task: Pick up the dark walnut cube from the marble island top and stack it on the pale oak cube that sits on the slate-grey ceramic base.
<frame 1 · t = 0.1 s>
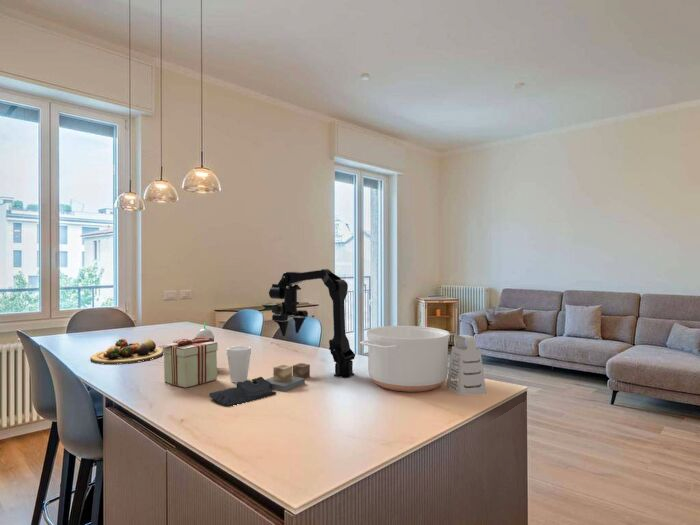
hand: (290, 334, 194), 15 cm above the worktop, tool pointing down, fingers open, 9 cm apart
grater: (465, 390, 160), on the worktop
pot: (407, 384, 169), on the worktop
wooden plate with food: (128, 358, 214), on the worktop
base: (282, 385, 166), on the worktop
walnut block: (301, 377, 177), on the worktop
foam cup: (238, 381, 172), on the worktop
gift box: (187, 381, 171), on the worktop
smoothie: (204, 367, 193), on the worktop
oak block: (282, 379, 166), point 2 cm above the worktop, touching base
dark slate chunk: (242, 397, 153), on the worktop
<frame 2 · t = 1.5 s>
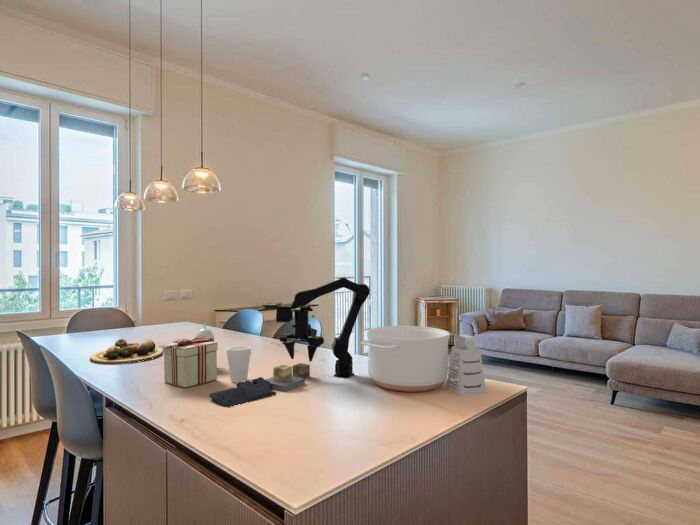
hand: (301, 360, 177), 7 cm above the worktop, tool pointing down, fingers open, 9 cm apart
nothing on the worktop moved.
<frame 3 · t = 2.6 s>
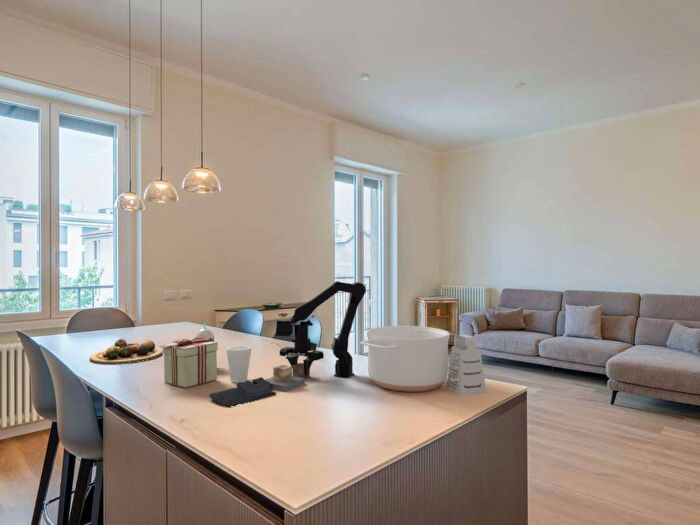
hand: (301, 374, 177), 1 cm above the worktop, tool pointing down, fingers closed on walnut block, 5 cm apart
walnut block: (301, 377, 177), on the worktop, touching gripper
everything else where it was.
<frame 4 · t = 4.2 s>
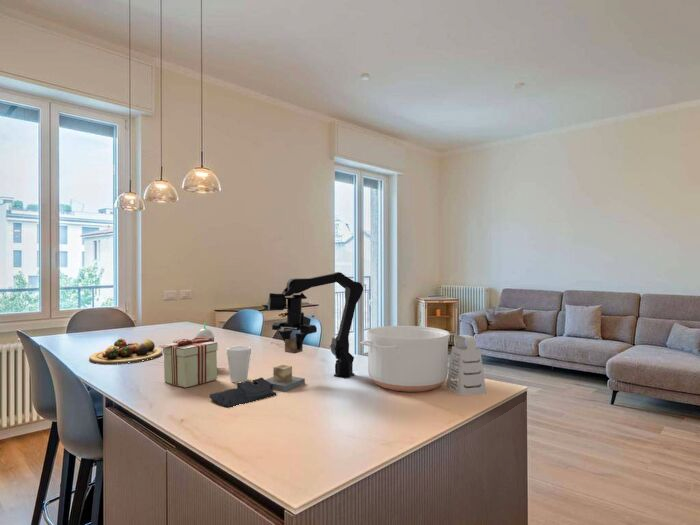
hand: (293, 349, 173), 12 cm above the worktop, tool pointing down, fingers closed on walnut block, 5 cm apart
walnut block: (293, 351, 173), point 11 cm above the worktop, touching gripper
everything else where it was.
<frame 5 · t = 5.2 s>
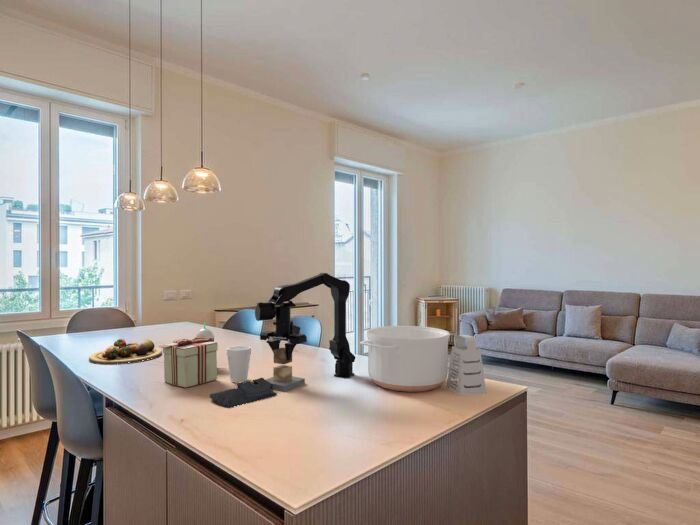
hand: (283, 359, 166), 10 cm above the worktop, tool pointing down, fingers closed on walnut block, 5 cm apart
walnut block: (282, 362, 166), point 9 cm above the worktop, touching gripper
when the fingers open (8 cm above the worktop, at t = 5.8 s): walnut block stays where it is, resting on oak block.
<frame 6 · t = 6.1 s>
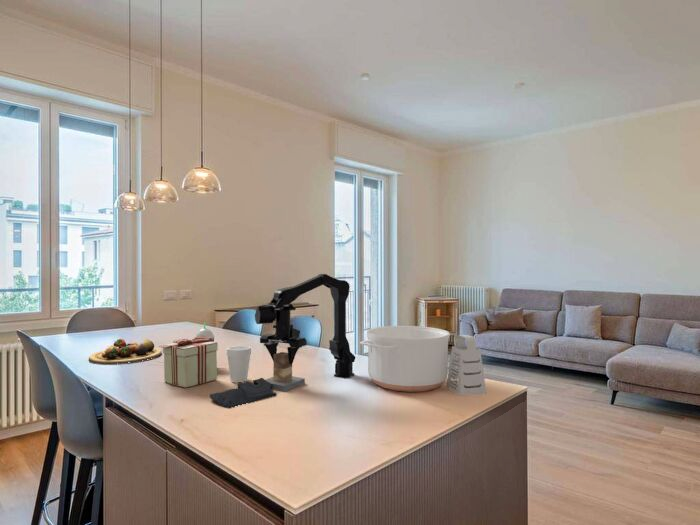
hand: (282, 362, 166), 8 cm above the worktop, tool pointing down, fingers open, 8 cm apart
walnut block: (282, 366, 166), point 7 cm above the worktop, touching oak block
oak block: (282, 379, 166), point 2 cm above the worktop, touching base, walnut block
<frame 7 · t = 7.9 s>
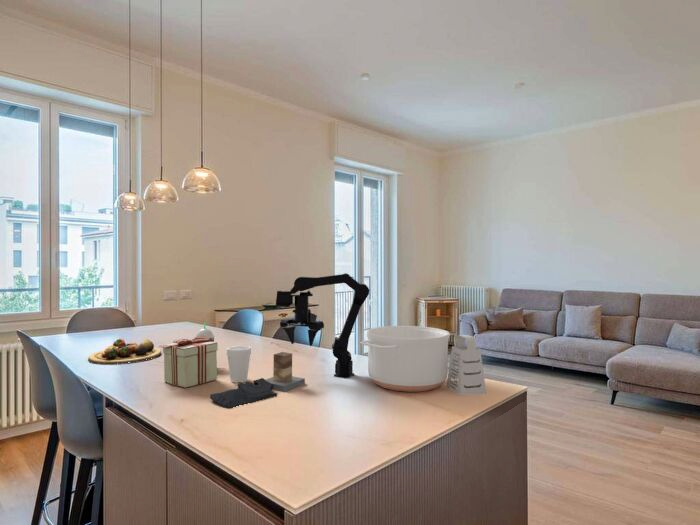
hand: (301, 344, 179), 13 cm above the worktop, tool pointing down, fingers open, 9 cm apart
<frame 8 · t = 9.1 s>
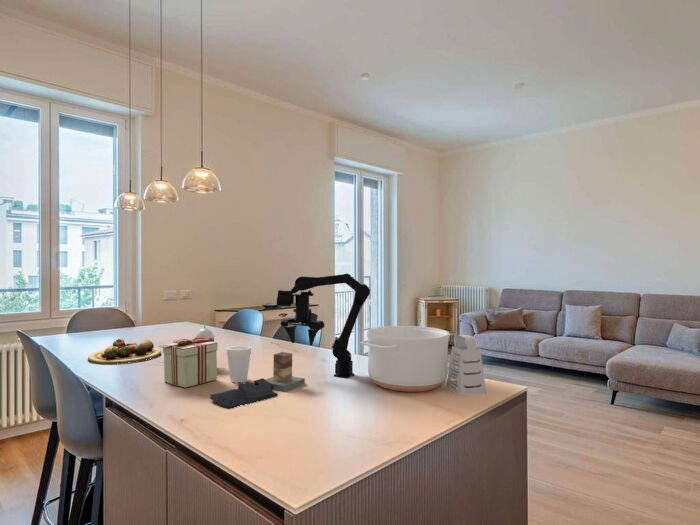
hand: (302, 344, 179), 13 cm above the worktop, tool pointing down, fingers open, 9 cm apart
at the end: walnut block 0.0 cm off-centre on the oak block, point 5.0 cm above the oak block's base; walnut block tilted 0°; the gripper is holding nothing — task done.
